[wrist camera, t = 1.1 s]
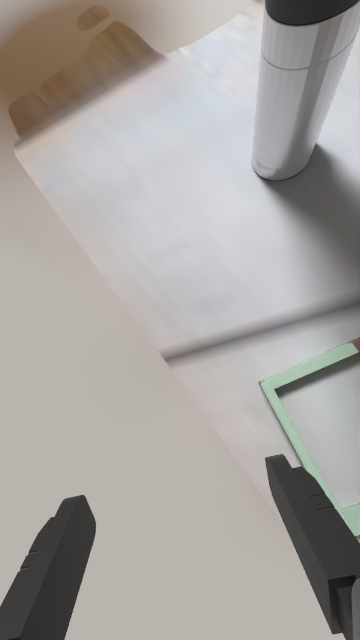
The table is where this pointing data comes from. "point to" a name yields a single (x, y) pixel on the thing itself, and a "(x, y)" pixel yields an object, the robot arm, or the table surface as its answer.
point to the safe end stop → (354, 516)
